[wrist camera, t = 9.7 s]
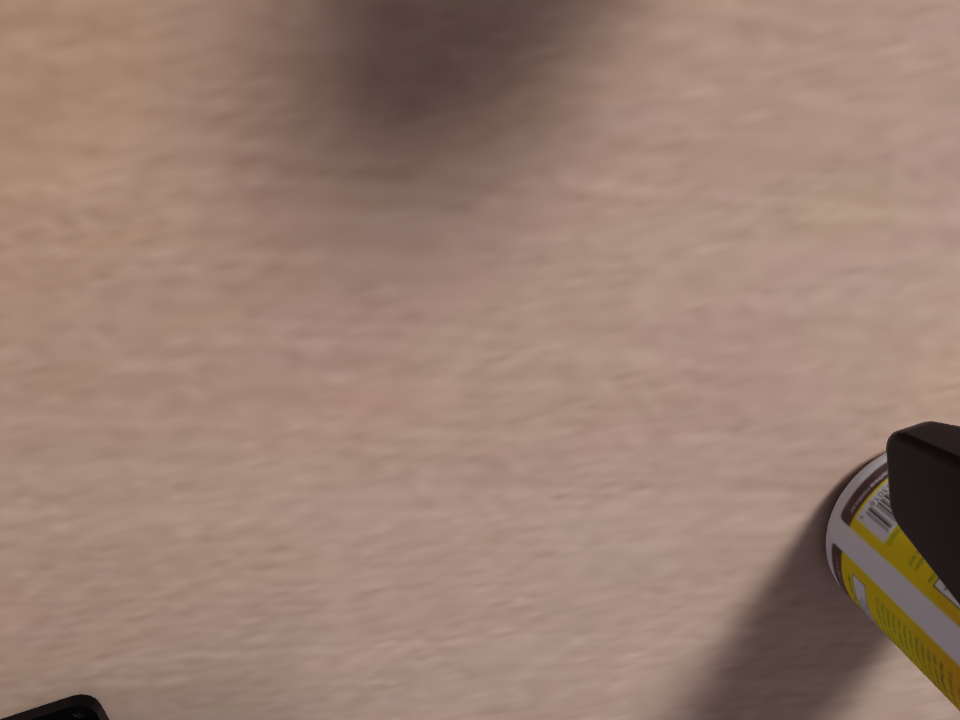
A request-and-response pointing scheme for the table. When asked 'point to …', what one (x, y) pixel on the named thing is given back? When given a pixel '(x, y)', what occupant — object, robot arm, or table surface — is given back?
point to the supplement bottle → (894, 579)
